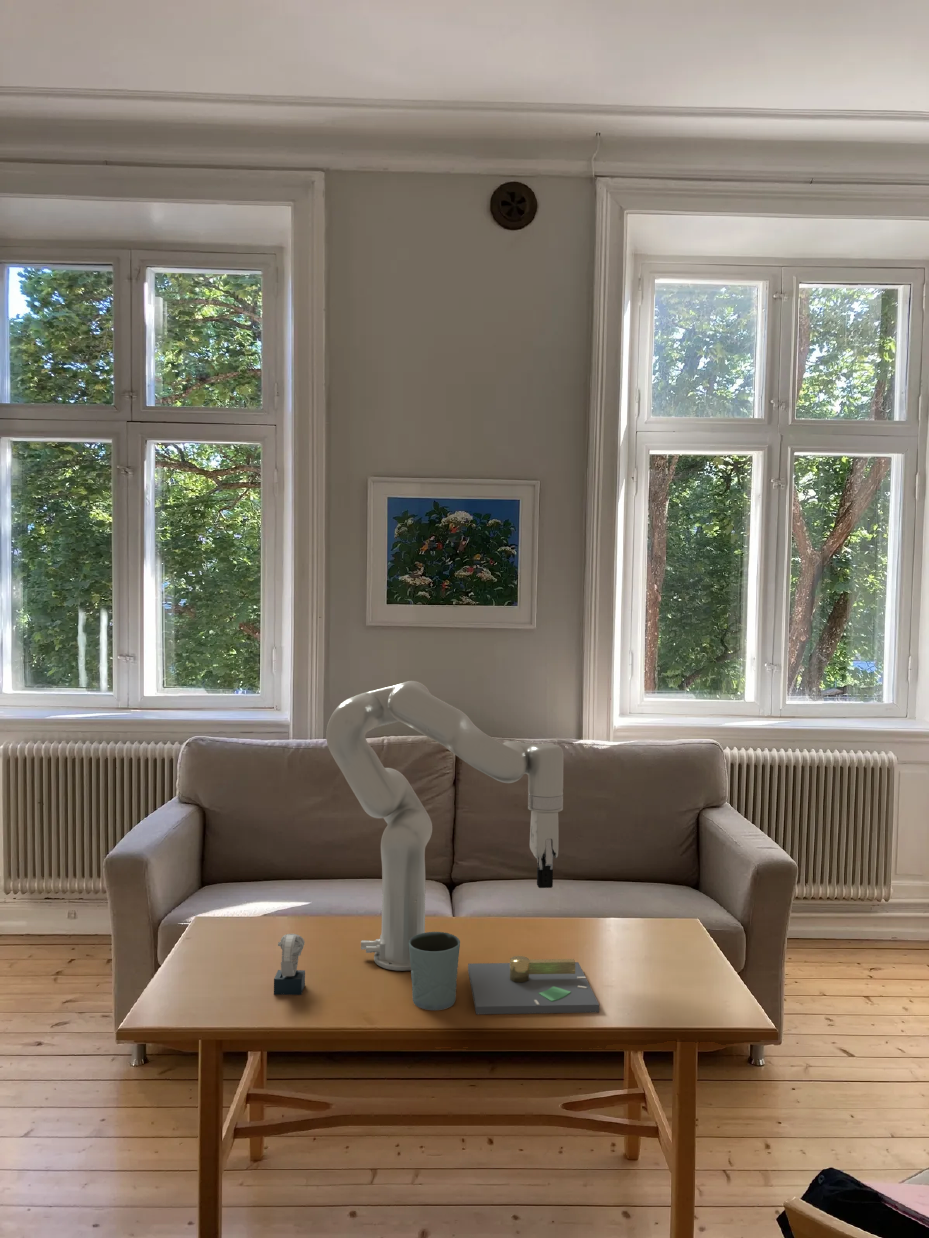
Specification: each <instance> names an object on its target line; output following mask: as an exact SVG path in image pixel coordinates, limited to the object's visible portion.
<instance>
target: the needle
mask: <svg viewBox="0 0 929 1238" xmlns="http://www.w3.org/2000/svg"><path fill="white" fill-rule="evenodd" d="M575 962H576V960H575V958H555V959H554V958H553V959H552V958H551V959H548V958H546V959H545V958H544V959H542V958H541V959H540V958H539V959H530V958H528V957H526V956H523V955H513V956H512V957H510V958H509V963H510V979H511V980H512V981H515V982H526V981H528V980H529V974H575Z"/></svg>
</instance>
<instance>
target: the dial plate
mask: <svg viewBox="0 0 929 1238" xmlns="http://www.w3.org/2000/svg"><path fill="white" fill-rule="evenodd" d="M467 972H468V977H469V982H470V989H471V994H472V1000H473V1005H474V1011H475V1015H510V1014H511V1015H512V1014H513V1015H515V1014H516V1015H517V1014H519V1015H521V1014H525V1015H526V1014H569V1013H570V1014H574V1013H575V1014H577V1013H578V1014H579V1013H581V1014H582V1013H600V1003H599V1002H598V1000H597V998H596V996H595V993H594V991H593V989H592V987H591V985H590V983H589V982H588V981H589V980H588V979H587V976H586V975H585V972H584V971H583V969H582V967H581V965H580V963H579V962H578V961H577V962H576V961H575V974H529V980H528V981H526V982H515V981H512V980H511V979H510V962H497V963H496V962H495V963H493V962H492V963H491V962H490V963H489V962H488V963H487V962H486V963H485V962H484V963H479V962H478V963H468V964H467Z"/></svg>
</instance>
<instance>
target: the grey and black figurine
mask: <svg viewBox="0 0 929 1238" xmlns="http://www.w3.org/2000/svg"><path fill="white" fill-rule="evenodd" d="M304 946H305V939H304V938H303V937H302V936H300V935H299V934H296V933H288V934H287V933H286V934H284V935H282V937H281V938H280V942H279V941H278V943H277V947H280V949H281V962H280V969H278V970H277V972H276V974H275V976H274V978H273V995H274V996H275V995H276V996H277V995H278V996H279V995H281V996H282V995H284V996H285V995H288V996H289V995H290V996H292V995H294V996H300V995H301V996H302V995H303V991H304V989H305V986H306V970H305V969H298V963H299V957H300V956H301V954H302V951H303V949H304Z"/></svg>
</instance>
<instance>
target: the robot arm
mask: <svg viewBox="0 0 929 1238" xmlns="http://www.w3.org/2000/svg"><path fill="white" fill-rule="evenodd" d="M398 722H400V723H401V724H403V725H405V726H407V727H409V728H411V729H412V730H415V731H416V732H417V733H420V734H421V735H423V736H425V737H427V738H429V739H431V740H433V741H434V742H436V743H437V744H439V745H442V746H443V747H445V748H446V749H447V750H448V751H449V752H451V753H452V754H453V755H455V756H456V757H458V758H459V759H460V760H462V761H463V762H465V763H466V764H467V765H469V766H471V767H472V768H474V769H475V770H477V771H479V772H481V773H483V774H485V775H486V776H489V777H490V778H492V779H494V780H495V781H498V782H500V783H505V784H513V783H515V782H518V781H519V780H520V779H522V777H524V775H527V778H528V779H527V793H528V794H527V810H529V811H530V827H529V829H530V830H529V831H530V832H529V849H530V851H531V853H532V855H533V856H534V858H535V859H536V860H537V862H536V863H537V867H536V885H537V887H538V888H539V889H552V888H553V886H554V884H553V883H554V882H553V881H554V878H553V877H554V869H553V864H554V859H557V858H558V857H559V845H560V844H559V842H560V841H559V838H560V837H559V833H560V832H559V822H560V821H559V812H561V811H563V810H564V750H563V748H562V747H561V746H560V745H559V744H553V743H537V744H532V743H528V742H527V743H526V742H522V741H521V742H520V741H513V740H510V741H509V740H508V741H505V742H500V741H498V740H497V739H495V738H494V737H491V736H490V735H489V734H486V733H485V732H484V731H482V730H481V729H480V728H479V727H477V726H476V725H475V724H474V723H473V721H472V720H471V718H470V717H469V716H468V715H467V714H466V713H465V712H463V711H462V710H461V709H459V708H457V707H456V706H454V705H451V704H449V703H447V702H446V701H444V700H442V699H440V698H438V697H436V696H435V695H433V694H431V692H430V690H429V689H428V687H427V686H426V685H425V684H423V683H422V682H419V681H417V680H408V681H404V682H402V683H398V684H394V685H391V686H387V687H382V688H378V689H375V690H370V691H366V692H361V693H359V694H356V695H355V696H351V697H349V698H346V699H345V700H343V701H342V702H341V703H340V704H339V705H338V706H337V707H336V708H335V709H334V711H333V712H332V714H331V715H330V717H329V720H328V722H327V726H326V729H325V730H326V732H325V737H326V744H327V747H328V750H329V752H330V754H331V757H333V759H334V761H335V763H336V765H337V766H338V768H339V770H340V772H341V773H342V775H343V776H344V778H345V781H346V782H347V784H348V786H349V787H350V789H351V791H352V792H353V794H354V795H355V797H356V799H357V800H358V802H359V804H360V806H361V808H362V810H363V811H364V812H365V813H366V814H367V815H368V816H370V817H371V818H374V819H383V820H384V821H385V823H386V825H387V826H386V827H385V828H384V829H383V833H382V835H381V839H380V859H381V876H382V877H381V878H382V880H381V882H382V883H381V934H380V935H379V938H375V940H369V939H366V940H365V939H363V940H362V939H361V940H360V950H361V951H362V950H365V953H367V954H368V953H369V954H371V953H372V954H373V953H374V954H373V961H374V963H375V964H376V965H378V966H379V967H380V968H383V969H385V970H390V971H398V972H400V971H401V972H402V971H403V972H407V971H412V969H411V964H410V953H409V940H410V939H411V938H412V937H413V936H415V935H417V934H421V933H426V926H425V925H426V860H425V859H426V858H425V855H426V847H427V845H428V843H429V842H430V840H431V837H432V834H433V822H432V820H431V817H430V815H429V813H428V812H427V810H426V808H425V807H424V805H423V803H422V801H421V800H420V799H419V796H418V795H417V793H416V792H415V791H414V789H413V787H412V785H411V784H410V782H409V780H408V779H407V778H406V776H405V775H403V773H402V772H400V771H399V770H397V769H395V768H392V767H384V765H383V763H382V762H381V759H380V758H379V756H378V754H377V753H376V751H375V750H374V748H373V747H372V746H371V745H370V744H369V743H368V740H367V738H366V735H367V733H368V732H370V731H371V730H373V729H376V728H380V727H383V726H387V725H391V724H394V723H395V724H396V723H398Z"/></svg>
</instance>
